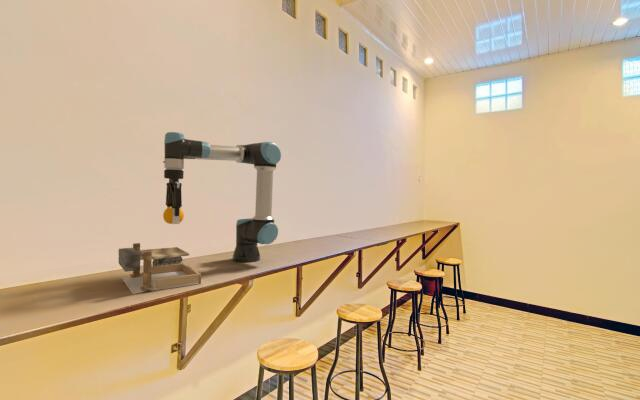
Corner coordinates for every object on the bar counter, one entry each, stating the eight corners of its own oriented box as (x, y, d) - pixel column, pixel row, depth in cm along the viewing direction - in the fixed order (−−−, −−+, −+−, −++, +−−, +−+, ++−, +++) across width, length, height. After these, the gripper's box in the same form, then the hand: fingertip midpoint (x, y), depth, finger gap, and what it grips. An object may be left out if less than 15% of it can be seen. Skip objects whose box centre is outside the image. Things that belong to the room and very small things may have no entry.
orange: (166, 224, 137) (166, 206, 137) (160, 223, 143) (161, 205, 143) (186, 223, 142) (186, 206, 142) (180, 222, 148) (180, 205, 148)
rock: (152, 273, 152) (157, 251, 153) (144, 269, 157) (148, 248, 158) (184, 273, 164) (188, 252, 165) (175, 269, 170) (179, 250, 171)
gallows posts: (140, 276, 147) (140, 242, 147) (154, 291, 127) (154, 252, 127) (130, 277, 145) (130, 243, 144) (142, 293, 125) (142, 253, 124)
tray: (183, 271, 158) (183, 263, 158) (200, 283, 139) (201, 274, 139) (122, 279, 142) (122, 270, 142) (132, 293, 123) (132, 283, 123)
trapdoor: (176, 257, 153) (176, 243, 153) (189, 264, 138) (189, 250, 138) (118, 262, 139) (118, 248, 139) (125, 272, 124) (125, 256, 124)
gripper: (158, 169, 148) (157, 221, 148) (171, 167, 132) (170, 225, 132) (176, 170, 152) (175, 220, 153) (190, 169, 136) (189, 224, 137)
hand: (173, 222), depth 143 cm, fingers closed on orange, 8 cm apart
